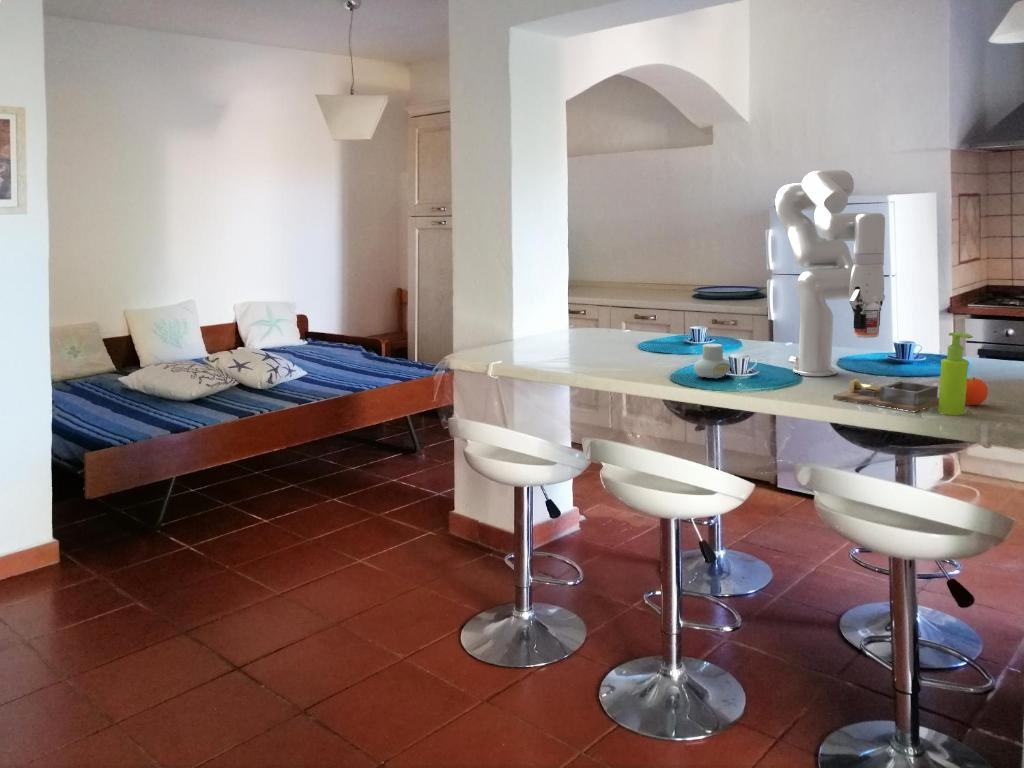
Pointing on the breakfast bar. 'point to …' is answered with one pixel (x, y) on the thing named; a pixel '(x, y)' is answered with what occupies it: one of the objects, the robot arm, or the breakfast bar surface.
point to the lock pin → (863, 386)
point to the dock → (895, 396)
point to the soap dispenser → (953, 378)
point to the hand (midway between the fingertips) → (866, 326)
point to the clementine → (975, 391)
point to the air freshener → (712, 362)
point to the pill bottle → (870, 321)
